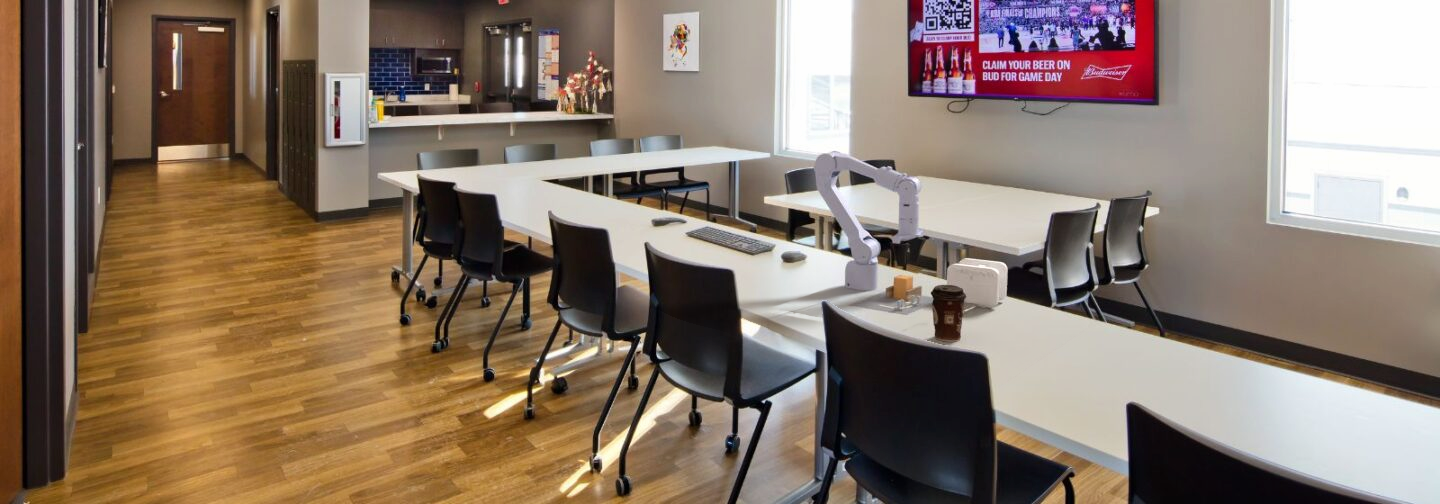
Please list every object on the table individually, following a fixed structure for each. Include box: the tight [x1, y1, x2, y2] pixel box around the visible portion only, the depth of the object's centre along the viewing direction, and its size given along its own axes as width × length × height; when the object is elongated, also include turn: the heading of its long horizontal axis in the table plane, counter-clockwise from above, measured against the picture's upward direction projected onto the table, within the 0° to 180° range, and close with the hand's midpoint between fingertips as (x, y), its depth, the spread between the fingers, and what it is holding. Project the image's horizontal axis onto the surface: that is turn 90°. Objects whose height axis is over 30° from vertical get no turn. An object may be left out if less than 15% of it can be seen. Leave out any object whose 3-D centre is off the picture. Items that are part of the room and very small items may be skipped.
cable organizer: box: [946, 257, 1009, 309], centre depth 264 cm, size 15×11×12 cm
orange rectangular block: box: [893, 274, 914, 299], centre depth 268 cm, size 4×4×6 cm
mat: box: [849, 290, 933, 316], centre depth 263 cm, size 18×22×4 cm
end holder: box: [885, 284, 923, 302], centre depth 268 cm, size 7×8×3 cm
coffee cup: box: [930, 284, 966, 343], centre depth 229 cm, size 9×8×13 cm
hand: (907, 264), depth 274 cm, fingers open, 7 cm apart
